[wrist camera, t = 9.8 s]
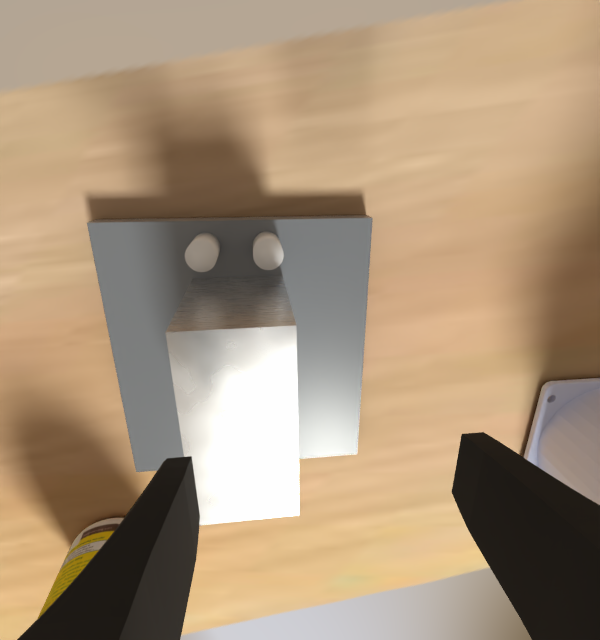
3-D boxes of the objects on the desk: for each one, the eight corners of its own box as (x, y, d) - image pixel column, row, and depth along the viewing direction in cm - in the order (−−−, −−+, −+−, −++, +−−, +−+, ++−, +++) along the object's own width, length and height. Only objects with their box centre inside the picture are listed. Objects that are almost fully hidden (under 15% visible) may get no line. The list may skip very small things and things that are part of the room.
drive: (286, 421, 21) (299, 514, 15) (209, 427, 21) (194, 525, 15) (282, 274, 18) (296, 325, 12) (192, 278, 18) (165, 332, 12)
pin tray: (353, 442, 23) (366, 480, 20) (141, 459, 22) (125, 501, 19) (366, 214, 18) (386, 224, 16) (95, 219, 17) (65, 230, 14)
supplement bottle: (65, 568, 24) (-53, 826, 15) (86, 503, 23) (-31, 746, 13) (155, 584, 26) (100, 829, 16) (182, 523, 24) (138, 756, 15)
